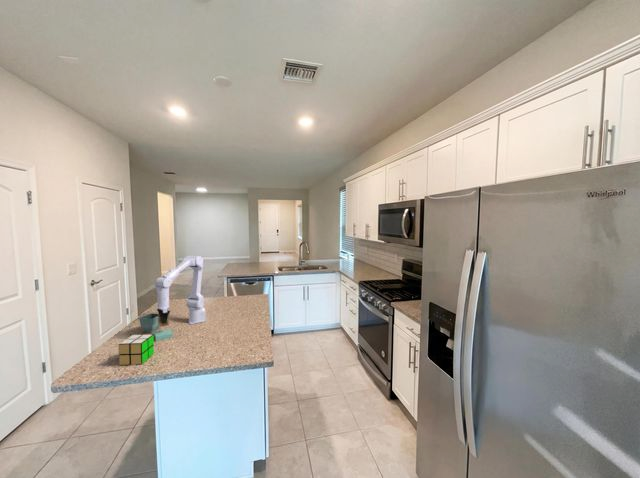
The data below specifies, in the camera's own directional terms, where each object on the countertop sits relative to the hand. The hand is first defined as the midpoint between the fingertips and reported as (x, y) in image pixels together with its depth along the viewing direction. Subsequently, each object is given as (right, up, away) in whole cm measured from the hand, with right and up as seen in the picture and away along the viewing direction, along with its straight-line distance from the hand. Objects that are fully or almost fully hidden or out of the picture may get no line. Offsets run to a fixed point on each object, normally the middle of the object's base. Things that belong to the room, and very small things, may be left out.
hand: (163, 321), depth 145 cm
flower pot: (-13, -8, +9) cm, 17 cm away
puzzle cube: (+3, -10, -25) cm, 27 cm away
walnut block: (0, -2, 0) cm, 2 cm away
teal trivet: (0, -9, 0) cm, 9 cm away
